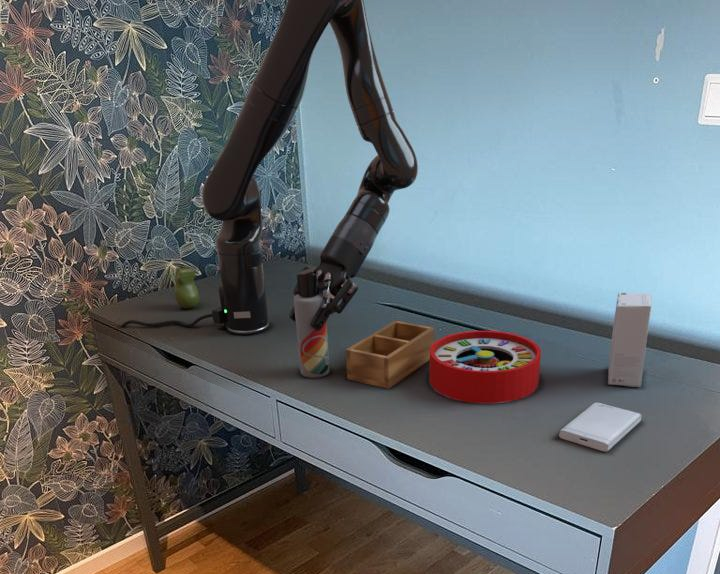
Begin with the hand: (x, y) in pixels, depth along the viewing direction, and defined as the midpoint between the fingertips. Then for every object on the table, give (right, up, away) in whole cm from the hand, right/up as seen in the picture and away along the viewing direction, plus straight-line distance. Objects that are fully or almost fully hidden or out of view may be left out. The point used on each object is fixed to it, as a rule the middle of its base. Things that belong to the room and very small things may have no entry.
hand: (303, 324), depth 143 cm
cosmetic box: (+59, -10, -1) cm, 60 cm away
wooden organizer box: (+17, -7, +7) cm, 19 cm away
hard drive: (+49, -21, -18) cm, 57 cm away
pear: (-31, +12, +43) cm, 54 cm away
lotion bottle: (+2, -8, +6) cm, 11 cm away
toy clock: (+33, -11, 0) cm, 35 cm away
